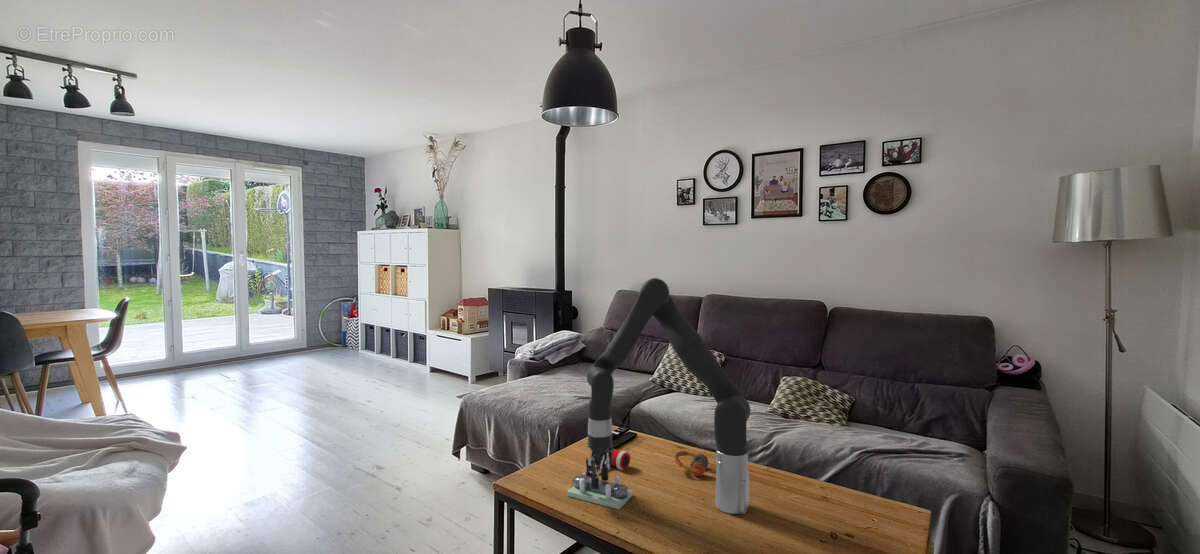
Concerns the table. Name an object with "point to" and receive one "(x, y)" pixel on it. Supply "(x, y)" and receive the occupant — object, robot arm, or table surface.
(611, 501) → the tool rack
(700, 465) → the headphones
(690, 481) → the table surface
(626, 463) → the toy hammer
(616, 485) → the grey ball-ended rod
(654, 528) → the table surface
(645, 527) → the table surface
